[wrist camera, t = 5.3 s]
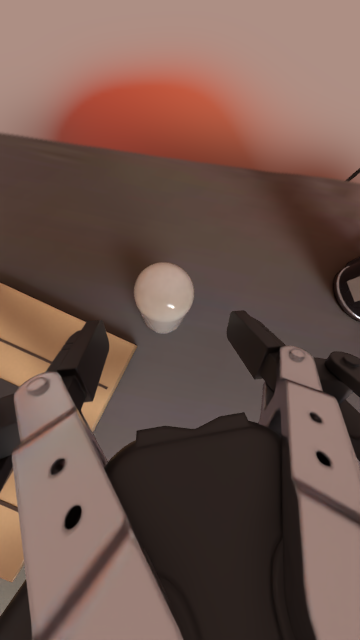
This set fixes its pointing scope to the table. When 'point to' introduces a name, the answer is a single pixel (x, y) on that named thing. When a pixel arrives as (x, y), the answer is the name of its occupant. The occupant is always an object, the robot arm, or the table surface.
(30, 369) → the game board
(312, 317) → the table surface
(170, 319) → the beige rounded cylinder
